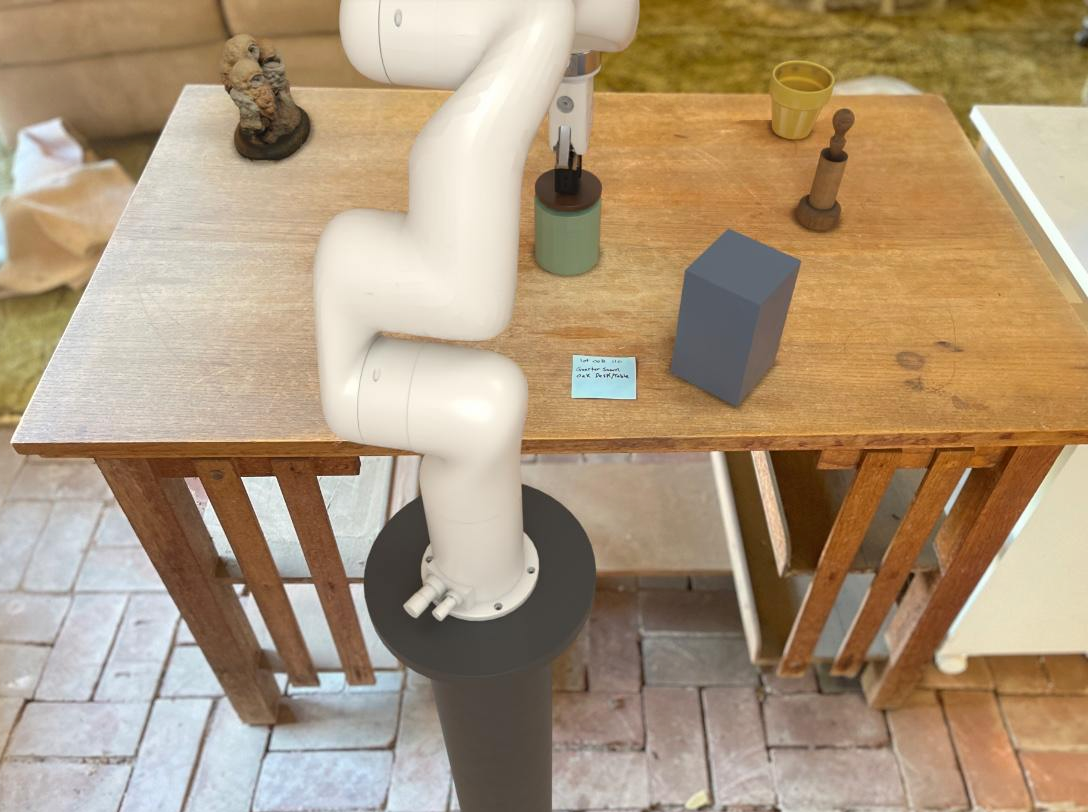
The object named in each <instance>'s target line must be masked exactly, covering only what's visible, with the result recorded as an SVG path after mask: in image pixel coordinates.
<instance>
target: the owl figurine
mask: <svg viewBox="0 0 1088 812" xmlns="http://www.w3.org/2000/svg"><path fill="white" fill-rule="evenodd" d="M221 52H222V53H221V54H222V56H221V58H220V60H219V62H218V69H219V74H220V78H221V80H220V81H221V82H222V84H223V86H224V90H225V92H227V95H229V97H230V99H231V101H233V103H234V105H235V107H237V108H238V111H239V122H238V123H237V125H236V128H235V130H234V134H233V143H234V147H235V149H236V151H237V153H238V154H239V155H240V156H241V157H242V158H244V159H247V160H249V161H251V162H253V161H269V162H270V161H271V162H272V161H273V162H275V161H276V162H277V161H280V160H284V159H287V158H289V157H291V156H292V155H293V154H296V152H297V151H298V150H299V149H301V148H302V145H303V144H305V143H306V142H307V140H308V138H309V136H310V131H311V121H310V118H309V114H308V113H307V111H305V109H303V108H302V107H301V106H299V105H297V104H296V103H295V99H294V97H293V95H292V94H291V87H290V86H291V84H290V80H289V79H287V75H286V66H285V65H286V64H285V62H284V59H283V58H282V56H281V53H280V52H279V50H278V48H277V47H276V46H275V43H274V41H273V40H271V39H270V38H260V39H257V40H256V39H255V38H254V36H252V35H250V34H248V33H241V34H236V35H234V36H233V37H231V38H229V39H228V40H227V41H225V43H224V45H223V49H222V51H221Z"/></svg>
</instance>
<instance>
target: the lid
mask: <svg viewBox="0 0 1088 812" xmlns="http://www.w3.org/2000/svg"><path fill="white" fill-rule="evenodd" d="M569 157H571V158H572V160H573V154H570V153H569ZM579 157H580V155H578V157H577V166H578V167H579ZM602 185H603V184H602V182H601V179H600V178H598V176H597V175H595V174H594V173H593V172H591V171H589V170H587V169H583V168H582V175H581V178H580V179H579V191H578V194H564V193H556V192H555V168H552V169H548V170H546V171H544V172H543V173H541V174H540V175H539V176H538V177H537V179H536V180H535V183H534V195H536V197H537V199H538V200H539V201H540V202H541V203H542V204H544V205H546V206H547V207H550V208H552V209H556V210H560V211H578V210H583V209H586V208H589V207H591V206H593V205H594V204H595V203H597V202H598V200H599V199H600V197H601V198H602V194H603V186H602Z"/></svg>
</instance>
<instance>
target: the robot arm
mask: <svg viewBox="0 0 1088 812" xmlns="http://www.w3.org/2000/svg"><path fill="white" fill-rule="evenodd" d="M639 19H640V0H340V4H339V16H338V22H339V23H338V25H339V26H338V27H339V28H338V29H339V34H340V35H339V36H340V40H341V45H342V48H343V51H344V54H345V56H346V58H347V59H348V61H349V62H350V65H351V66H352V67H353V68H354V69H355V70H356V71H357V72H358V73H359V74H361V75H362V76H364V77H366V78H368V79H369V80H371V81H374V82H378V83H383V84H387V85H393V86H394V85H395V86H406V87H415V88H425V89H433V90H442V91H443V90H444V91H450V92H451V91H452V92H453V93H452V94H451V95H450V96H449V97H448V99H446V100H445V101H444V102H443V103H442V104H441V105H440V106H439V107H438V109H437V110H436V111H435V112H433V114H432V115H431V116H430V118H429V119H428V120H427V121H426V122H425V124H423V127H422V128H421V129H420V131H419V132H418V134H417V135H416V137H415V139H414V140H413V143H412V144H411V146H410V149H409V154H408V159H407V169H408V170H407V176H408V178H407V179H408V187H407V188H408V189H407V192H408V193H407V194H408V195H407V196H408V197H407V199H408V201H407V202H408V204H407V206H408V208H407V212H405V211H396V210H385V209H379V208H367V207H361V208H360V207H358V208H349V209H346V210H342V211H340V212H339V213H337V214H336V215H334V216H332V217H331V219H329V221H328V222H326V224H325V226H324V227H323V229H322V231H321V232H320V235H319V237H318V240H317V244H316V248H315V252H314V258H313V264H312V277H311V279H312V283H311V284H312V306H313V307H312V308H313V319H314V332H315V334H314V335H315V346H316V361H317V372H318V373H317V374H318V386H319V397H320V405H321V410H322V415H323V419H324V421H325V424H326V426H327V427H328V429H329V430H330V431H331V433H333V434H334V435H335V436H336V437H338V438H339V439H341V440H343V441H347V442H351V443H356V444H360V445H367V446H374V447H381V448H387V449H395V450H401V451H409V452H413V453H417V454H423V458H422V460H421V463H420V467H419V473H418V481H419V488H420V495H422V499H423V505H424V510H425V516H426V521H427V527H428V532H429V538H430V544H429V546H428V547H427V549H426V551H425V553H424V556H423V559H422V564H421V576H422V581H423V585H424V586H423V587H422V588H421V589H420V590H419V591H418V592H417V593H415V594H414V595H413V596H412V597H411V598H410V599H409V600H408V601H407V602H406V603H405V604H404V605H403V606H404V609H405V610H406V611H407V612H408V613H409V614H410V615H411V616H412V617H414V618H418V617H419V615H420V614H421V613H422V612H423V611H424V610H425V609H426V608H427V607H428V606H429V604H430V603H431V602H433V603H434V604H435V605H436V606H437V607H436V608H435V609H434V610H433V611H432V614H433V616H434V617H435V618H436V619H437V620H439V621H442V620H443V619H444V618H445V617H446V616H447V615H451V616H453V617H456V618H459V619H463V620H468V621H485V620H492V619H496V618H499V617H502V616H505V615H507V614H508V613H510V612H512V611H514V610H515V609H517V608H518V607H519V606H521V605H522V604H523V603H524V602H525V601H526V600H527V599H528V597H529V596H530V595H531V593H532V591H533V590H534V588H535V586H536V583H537V580H538V574H539V559H538V554H537V550H536V548H535V546H534V544H533V542H532V541H531V539H530V538H529V537H528V536H527V534H525V533H524V532H523V513H522V488H521V484H522V470H521V469H522V468H521V467H522V465H521V464H522V463H521V461H522V460H521V459H522V458H521V456H522V444H523V437H524V429H525V427H526V420H527V415H528V410H529V409H528V408H529V401H530V400H529V399H530V398H529V396H530V395H529V385H528V384H529V383H528V379H527V376H526V374H525V372H524V370H523V369H522V368H521V367H520V366H519V364H518V363H516V362H515V360H513V359H511V358H510V357H508V356H506V355H503V354H501V353H499V352H496V351H492V350H489V349H485V348H479V347H475V346H467V345H460V344H454V343H453V344H452V343H444V342H436V341H429V340H428V341H423V340H415V339H408V338H400V337H395V336H386V335H384V334H383V332H385V333H386V332H387V333H388V332H389V333H394V334H395V333H397V334H404V335H409V336H410V335H411V336H419V337H425V338H433V339H441V340H450V341H461V342H462V341H463V342H479V341H480V342H481V341H487V340H491V339H494V338H497V337H498V336H500V335H501V334H502V333H504V332H505V330H506V329H507V327H508V326H509V324H510V323H511V320H512V317H513V313H514V309H515V303H516V298H517V287H518V273H519V271H518V270H519V255H520V254H519V253H520V252H519V251H520V232H521V231H520V230H521V212H522V211H521V207H522V192H523V191H522V190H523V178H524V177H523V176H524V171H525V166H526V163H527V160H528V157H529V154H530V151H531V148H532V145H533V143H534V141H535V138H536V137H537V134H538V132H539V130H540V128H541V126H542V124H543V122H544V120H545V118H546V116H547V117H548V119H547V120H548V122H547V124H548V125H547V126H548V148H549V151H550V152H551V153H552V154H555V165H554V169H555V192H556V193H564V194H578V191H579V179H580V178H581V175H582V169H583V156H585V155H586V154H588V151H589V147H590V143H591V142H590V141H591V136H592V132H593V131H592V129H593V125H594V87H595V86H594V82H595V80H594V79H595V77H594V76H596V75H597V74H598V73H599V72H600V70H601V68H602V52H605V53H621V52H623V51H624V50H626V49H627V48H628V47H629V46H630V45H631V44H632V42H633V41H634V38H635V35H636V34H637V29H638V25H639ZM569 153H570V154H573V160H572V158H571V157H569ZM578 155H580V157H579V167H578V166H577V157H578ZM530 573H533V574H530ZM497 609H500V610H497Z"/></svg>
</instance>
